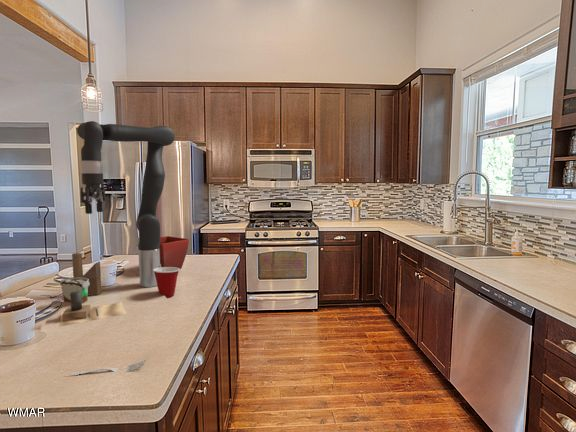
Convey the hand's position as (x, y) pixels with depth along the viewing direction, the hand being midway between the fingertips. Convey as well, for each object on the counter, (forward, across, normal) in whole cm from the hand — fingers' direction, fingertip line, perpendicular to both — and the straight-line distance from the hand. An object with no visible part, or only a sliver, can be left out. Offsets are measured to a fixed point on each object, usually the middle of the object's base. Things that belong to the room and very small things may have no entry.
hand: (94, 212), depth 139 cm
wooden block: (+36, +7, +8) cm, 38 cm away
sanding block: (+35, -22, -4) cm, 41 cm away
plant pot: (+36, +49, -12) cm, 62 cm away
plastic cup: (+36, +3, -27) cm, 45 cm away
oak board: (+36, -20, -8) cm, 42 cm away
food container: (+36, -5, +5) cm, 37 cm away
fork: (+37, -56, -27) cm, 72 cm away
